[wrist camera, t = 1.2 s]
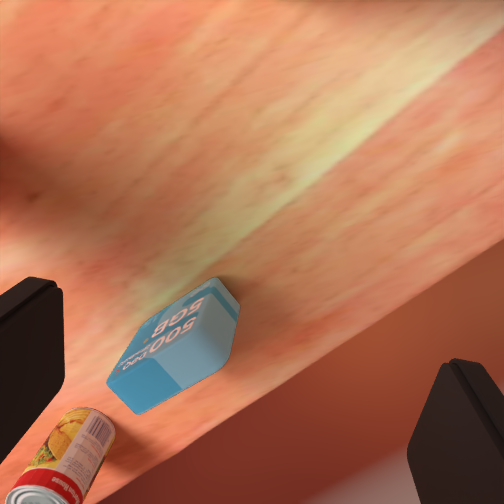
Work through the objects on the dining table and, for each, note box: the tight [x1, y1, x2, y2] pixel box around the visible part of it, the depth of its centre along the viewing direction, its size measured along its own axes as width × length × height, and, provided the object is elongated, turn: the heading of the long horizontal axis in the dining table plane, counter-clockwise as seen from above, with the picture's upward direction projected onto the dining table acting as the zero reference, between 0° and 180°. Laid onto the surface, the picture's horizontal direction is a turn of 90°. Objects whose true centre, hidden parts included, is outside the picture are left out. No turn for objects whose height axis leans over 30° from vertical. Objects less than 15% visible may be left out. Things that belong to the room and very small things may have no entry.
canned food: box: [5, 407, 116, 504], centre depth 50 cm, size 8×8×12 cm
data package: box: [106, 277, 240, 415], centre depth 42 cm, size 12×4×12 cm, turn 126°
